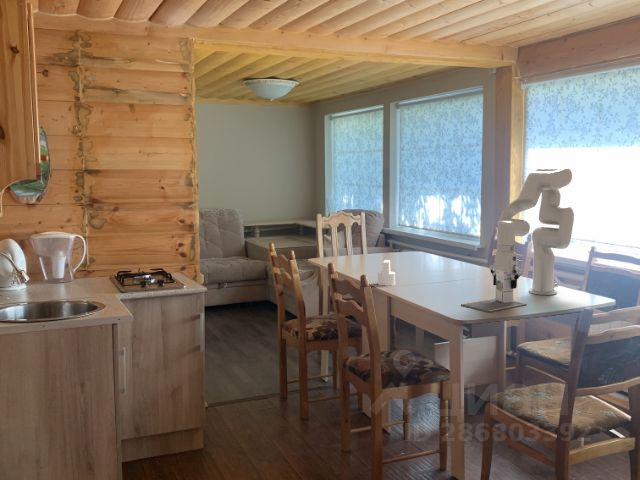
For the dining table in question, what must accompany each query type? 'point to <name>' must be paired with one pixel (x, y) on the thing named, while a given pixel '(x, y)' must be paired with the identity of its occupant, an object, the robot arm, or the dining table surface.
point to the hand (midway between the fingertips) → (504, 286)
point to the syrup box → (503, 287)
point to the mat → (492, 305)
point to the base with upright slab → (386, 275)
